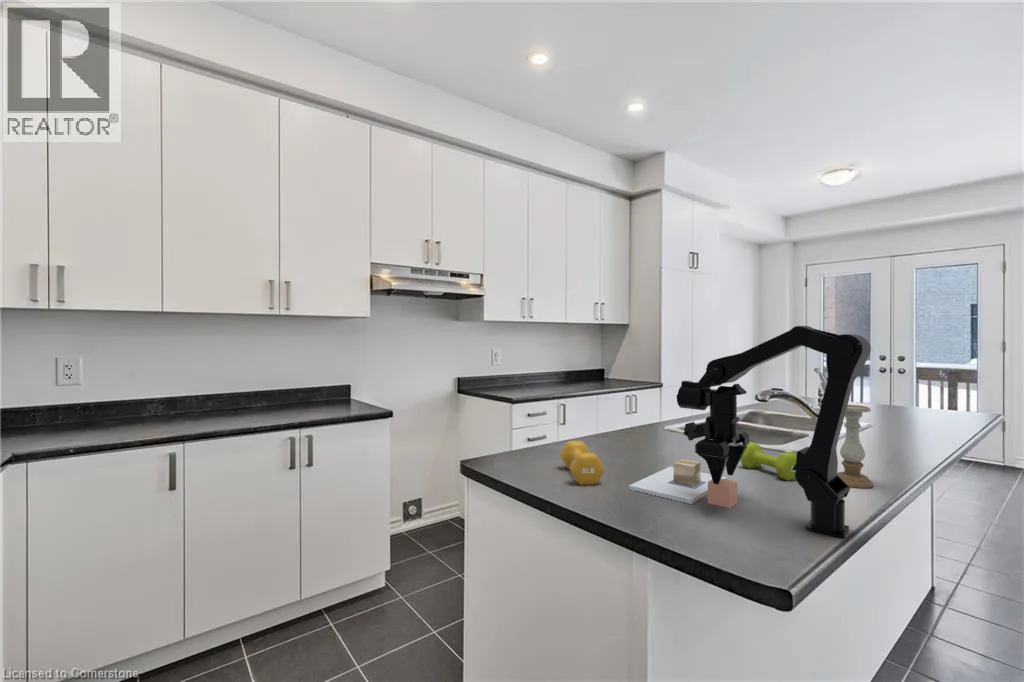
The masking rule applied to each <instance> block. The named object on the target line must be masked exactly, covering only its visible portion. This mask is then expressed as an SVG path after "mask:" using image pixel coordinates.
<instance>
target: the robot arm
mask: <svg viewBox="0 0 1024 682" xmlns="http://www.w3.org/2000/svg"><path fill="white" fill-rule="evenodd" d="M801 347H805V348H809V349H810V350H813V351H816V352H819V353H822V354H826V356H825V357H826V360H825V365H826V373H827V381H826V385H825V389H824V392H823V396H822V399H821V400H822V401H821V403H820V408H819V413H818V416H817V420H816V425H815V428H814V433H813V436H812V439H811V443H810V445H809V446H805V447H803V448H801V449H799V450H798V451H797V452H796V454H797V458H796V464H795V466H794V467H793V469H792V470H796V472H795V481H796V482H797V483H798V485H799V486H800V487H801V488H802V490H803V492H804V494H805V498H806V500H807V501H808V502H810V520H809V521H808V522H807V524H806V525H805V529H806V530H808V531H811V532H816V533H821V534H824V535H829V536H833V537H837V538H842V539H843V538H845V537H846V536H847V534H848V532H849V530H850V526H849V525H846V524H845V517H846V516H845V514H846V513H845V511H846V510H845V508H846V506H845V504H846V502H845V500H844V498H847V497H848V494H849V492H850V491H851V487H849V486H848V485H847V484H846V483H845V482H844V481H843V480H842V479H841V478H840V477H839V476H838V475H837V473H838V466H839V465H838V461H839V460H838V453H837V445H838V442H839V439H840V435H841V431H842V427H843V425H844V424H843V423H844V419H845V412H846V409H847V405H849V401H850V398H851V393H852V389H853V385H854V383H855V380H856V379H857V377H858V376H859V374H860V373H861V371H862V370H863V368H864V366H865V365H866V362H867V360H868V358H869V356H870V354H871V351H872V346H871V344H870V342H869V341H868V339H867V338H865V336H862V335H859V334H852V333H850V334H845V333H843V334H837V333H836V334H835V333H833V332H829V331H825V330H820V329H817V328H814V327H812V326H809V325H797V326H793V327H792V328H791V329H790V330H788V331H785V332H784V333H782V334H778V335H777V336H775V337H773V338H770V339H768V340H767V341H764V342H762V343H760V344H758V345H755V346H753V347H751V348H750V349H749V348H748V349H746V350H745V351H742V352H740V353H736V354H732V355H728V356H723V357H720V358H716V359H713V360H711V361H709V362H708V363H707V365H706V368H705V372H704V374H703V375H702V377H701V378H700V379H699V380H698V381H691V380H682V381H681V386H680V387H679V389H678V391H677V394H676V403H677V405H678V407H679V408H681V409H690V410H697V411H698V410H699V411H705V410H707V408H709V416H707V417H706V418H705V422H700V423H695V421H691V422H687V423H685V424H684V428H683V435H684V436H685V437H687V439H688V441H694V439H698V438H703V439H701V440H698V441H697V442H696V443H695V444H694V450H695V451H694V453H696V454H697V455H698V456H699V457H700V458H703V460H705V462H706V464H707V466H708V467H707V468H708V470H709V474H711V477H712V480H713V483H714V484H719V482H720V480H721V477H722V476H723V474H724V471H725V468H726V474H727V476H731V477H732V476H733V475H734V473H735V472H736V469H737V467H738V465H739V463H740V462H741V461H740V459H741V457H742V455H743V453H744V451H745V449H746V448H747V446H746V445H748V444H749V443H750V435H749V434H748V433H747V432H746V431H739V430H737V428H738V427H737V426H738V425H737V424H738V423H739V422H740V416H737V414H738V413H737V411H738V409H737V408H738V407H737V406H738V403H737V400H738V399H737V398H738V396H742V395H746V394H747V390H745V389H744V388H743V387H742V386H741V385H740V383H735V382H736V381H738V380H739V379H740V378H742V377H743V376H745V375H747V374H748V373H749V372H750V371H751V370H753V369H754V368H755V367H758V366H760V365H762V364H764V363H767V362H769V361H772V360H774V359H776V358H778V357H780V356H783V355H786V354H788V353H790V352H792V351H794V350H797V349H799V348H801ZM729 383H730V384H731V383H733V384H732V386H729V385H728V386H727V385H725V384H729ZM723 384H724V385H723ZM712 387H717V389H715V388H712Z"/></svg>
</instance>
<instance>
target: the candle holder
mask: <svg viewBox="0 0 1024 682" xmlns="http://www.w3.org/2000/svg"><path fill="white" fill-rule="evenodd" d="M870 412H871V408H870V406H865V405H859V404H858V405H857V404H848V405H847V409H846V412H845V416H844V419H845V420H846V421H845V423H844V424H843V427H845V439H844V442H843V443H842V446H841V447H840V449H839V455H840V457H841V458H842V459H843V460H842V461H841V465H842V466H843V468H844V471H837V475H838V476H839V477H840V478H841V479H842V480H843V481H844V482H845V483H846V484H847V485H848V486H849V487H850V488H858V489H859V488H860V489H869V487H870V488H872V486H873V487H874V481H872V480H871V479H869V477H868V476H867V475H865V474H863V473H861V471H862V469H863V467H864V466H865V465H864V463H863V462H862V461H863V460H864V459H865V457H866V452H865V449H864V447H863V446H862V443H861V440H860V429H861V428H862V425H861V424H860V419H861V418H862V417H863V413H870Z"/></svg>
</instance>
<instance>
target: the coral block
mask: <svg viewBox="0 0 1024 682" xmlns="http://www.w3.org/2000/svg"><path fill="white" fill-rule="evenodd" d="M738 483H739V482H738V481H737V480H730V479H728V478H727V479H721V480H720V482H719V484H714V483H713V480H710V481H709V482H708V494H707V503H708V504H710V505H714V504H715V505H714V506H718V505H719V507H723V508H727V509H728V508H729V509H731V508H733V507H734V506H735V505H736V504H737V502H739V500H738V499H739V498H738V495H739V494H738ZM732 506H733V507H732Z"/></svg>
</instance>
